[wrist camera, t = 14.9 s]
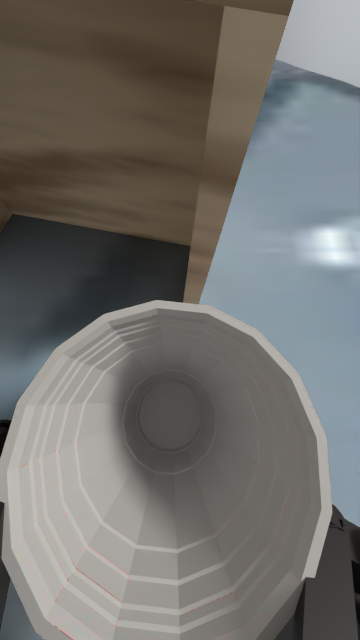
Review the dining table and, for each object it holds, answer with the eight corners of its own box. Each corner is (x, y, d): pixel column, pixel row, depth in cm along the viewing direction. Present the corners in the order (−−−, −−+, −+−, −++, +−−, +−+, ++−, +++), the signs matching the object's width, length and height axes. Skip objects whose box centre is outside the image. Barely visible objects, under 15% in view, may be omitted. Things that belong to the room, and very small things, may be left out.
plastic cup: (83, 465, 16) (-127, 639, 5) (134, 339, 20) (83, 268, 8) (215, 513, 15) (338, 852, 4) (242, 373, 19) (346, 345, 8)
